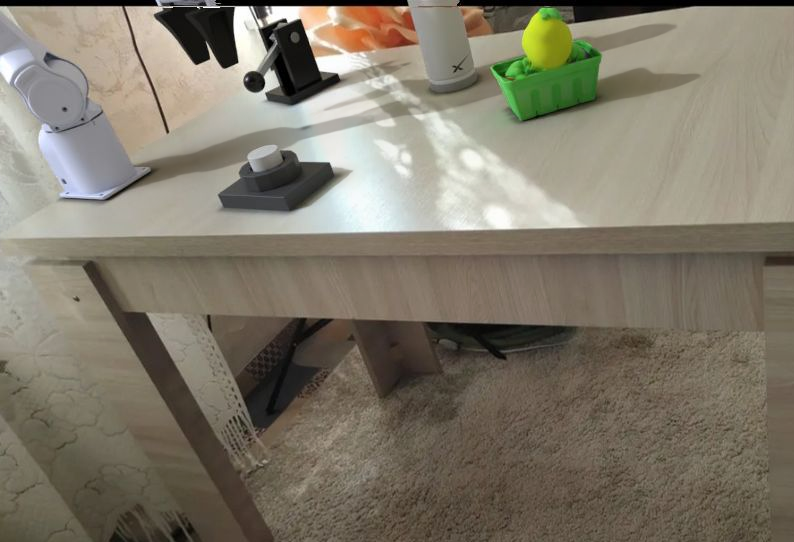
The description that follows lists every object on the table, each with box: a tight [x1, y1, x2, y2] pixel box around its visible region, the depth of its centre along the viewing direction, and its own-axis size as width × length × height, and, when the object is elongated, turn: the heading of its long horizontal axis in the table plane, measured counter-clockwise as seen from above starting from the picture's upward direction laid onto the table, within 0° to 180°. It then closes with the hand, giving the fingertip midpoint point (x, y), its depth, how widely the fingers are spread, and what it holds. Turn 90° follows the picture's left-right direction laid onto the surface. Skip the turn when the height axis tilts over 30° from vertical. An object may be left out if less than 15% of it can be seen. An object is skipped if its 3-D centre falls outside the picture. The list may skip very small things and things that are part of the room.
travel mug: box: [407, 0, 478, 94], centre depth 96 cm, size 6×7×20 cm
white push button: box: [246, 144, 283, 172], centre depth 83 cm, size 3×3×2 cm
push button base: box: [217, 149, 335, 212], centre depth 85 cm, size 10×8×4 cm
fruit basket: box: [490, 6, 603, 121], centre depth 85 cm, size 11×9×11 cm
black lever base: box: [257, 17, 342, 106], centre depth 112 cm, size 9×7×10 cm
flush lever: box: [242, 23, 287, 94], centre depth 110 cm, size 11×3×3 cm, turn 136°
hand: (216, 64), depth 98 cm, fingers open, 7 cm apart
